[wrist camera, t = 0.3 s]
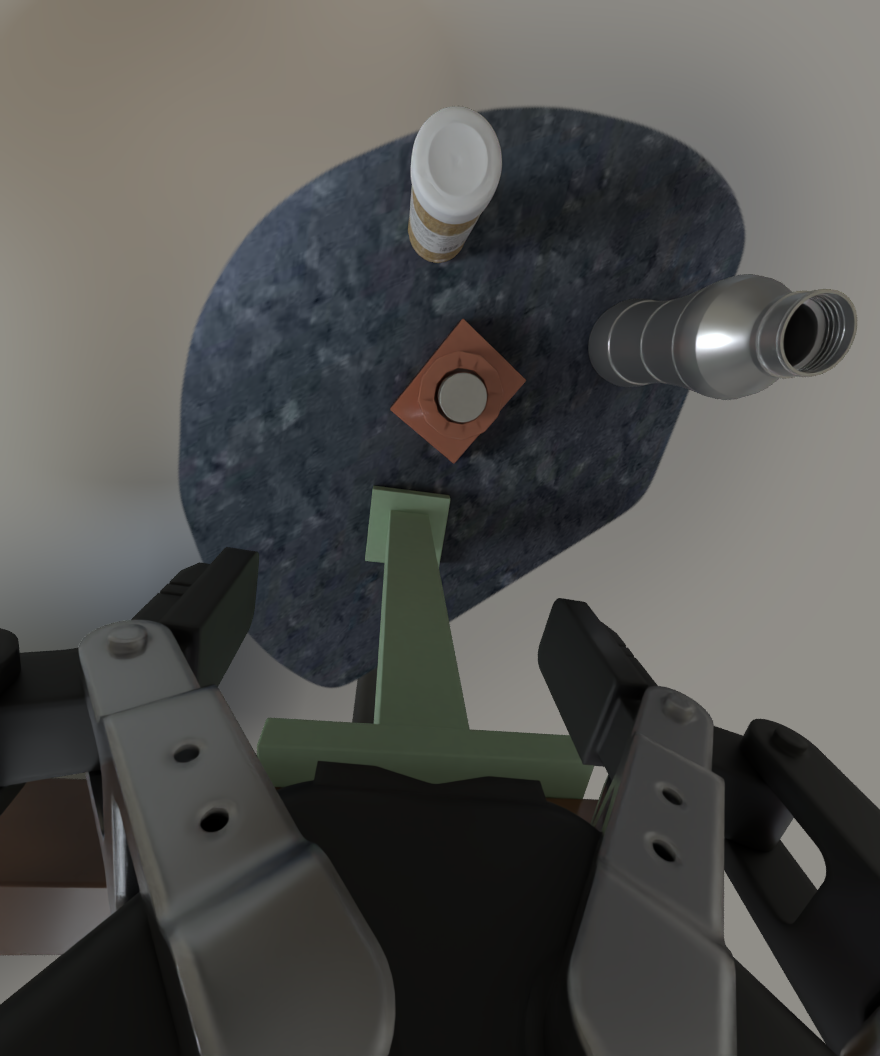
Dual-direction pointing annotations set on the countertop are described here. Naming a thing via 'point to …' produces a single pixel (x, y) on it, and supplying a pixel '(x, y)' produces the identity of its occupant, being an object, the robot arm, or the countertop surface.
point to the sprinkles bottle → (451, 180)
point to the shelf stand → (417, 681)
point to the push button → (462, 397)
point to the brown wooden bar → (70, 866)
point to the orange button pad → (452, 356)
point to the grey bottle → (724, 337)
